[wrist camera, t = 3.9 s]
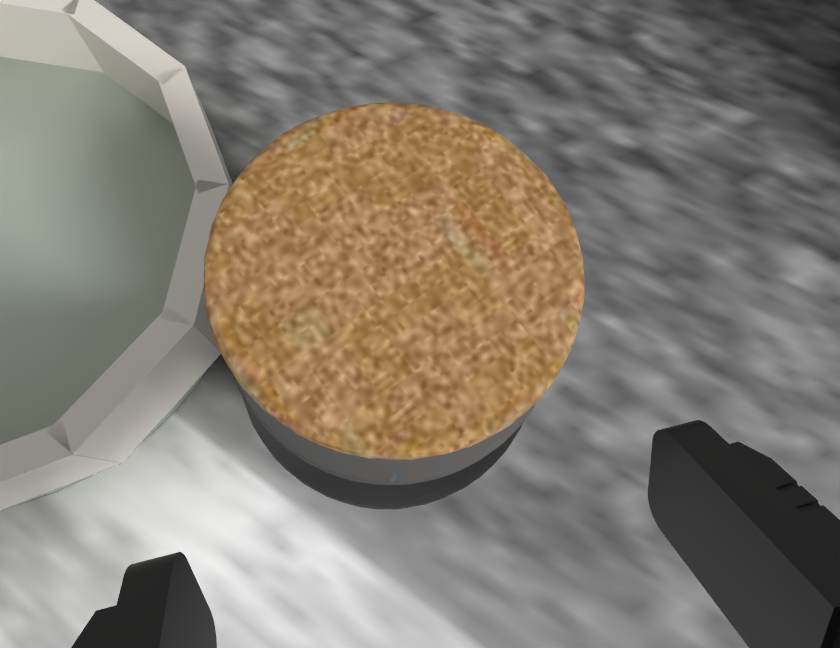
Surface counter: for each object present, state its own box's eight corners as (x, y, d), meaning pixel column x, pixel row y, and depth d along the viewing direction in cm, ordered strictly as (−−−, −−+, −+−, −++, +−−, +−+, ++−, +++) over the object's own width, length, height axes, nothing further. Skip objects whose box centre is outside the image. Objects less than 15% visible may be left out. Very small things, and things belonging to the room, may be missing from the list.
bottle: (281, 371, 22) (106, 120, 8) (433, 325, 23) (531, 22, 9) (327, 531, 20) (214, 595, 6) (486, 475, 21) (714, 416, 7)
